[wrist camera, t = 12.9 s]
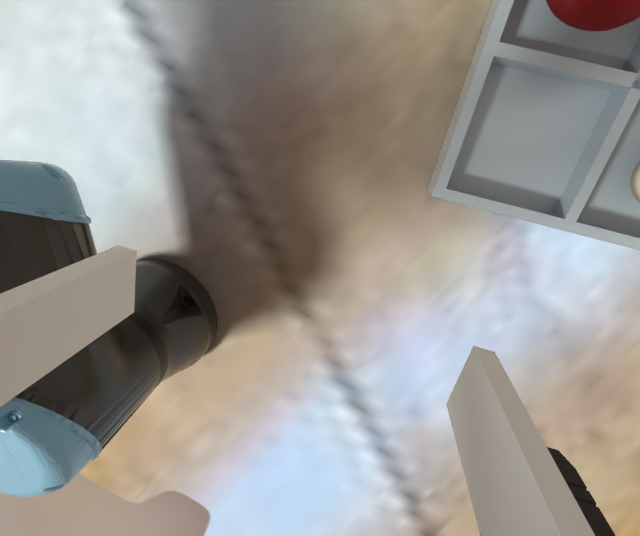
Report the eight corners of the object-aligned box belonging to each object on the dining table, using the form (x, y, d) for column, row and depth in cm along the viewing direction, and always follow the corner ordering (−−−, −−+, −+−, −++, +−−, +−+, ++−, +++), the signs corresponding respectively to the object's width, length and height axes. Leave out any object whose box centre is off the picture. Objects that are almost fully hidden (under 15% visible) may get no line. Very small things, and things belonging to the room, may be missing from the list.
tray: (426, 191, 37) (431, 196, 33) (535, -126, 27) (556, -162, 24) (674, 255, 35) (705, 267, 32) (876, -58, 26) (948, -86, 23)
